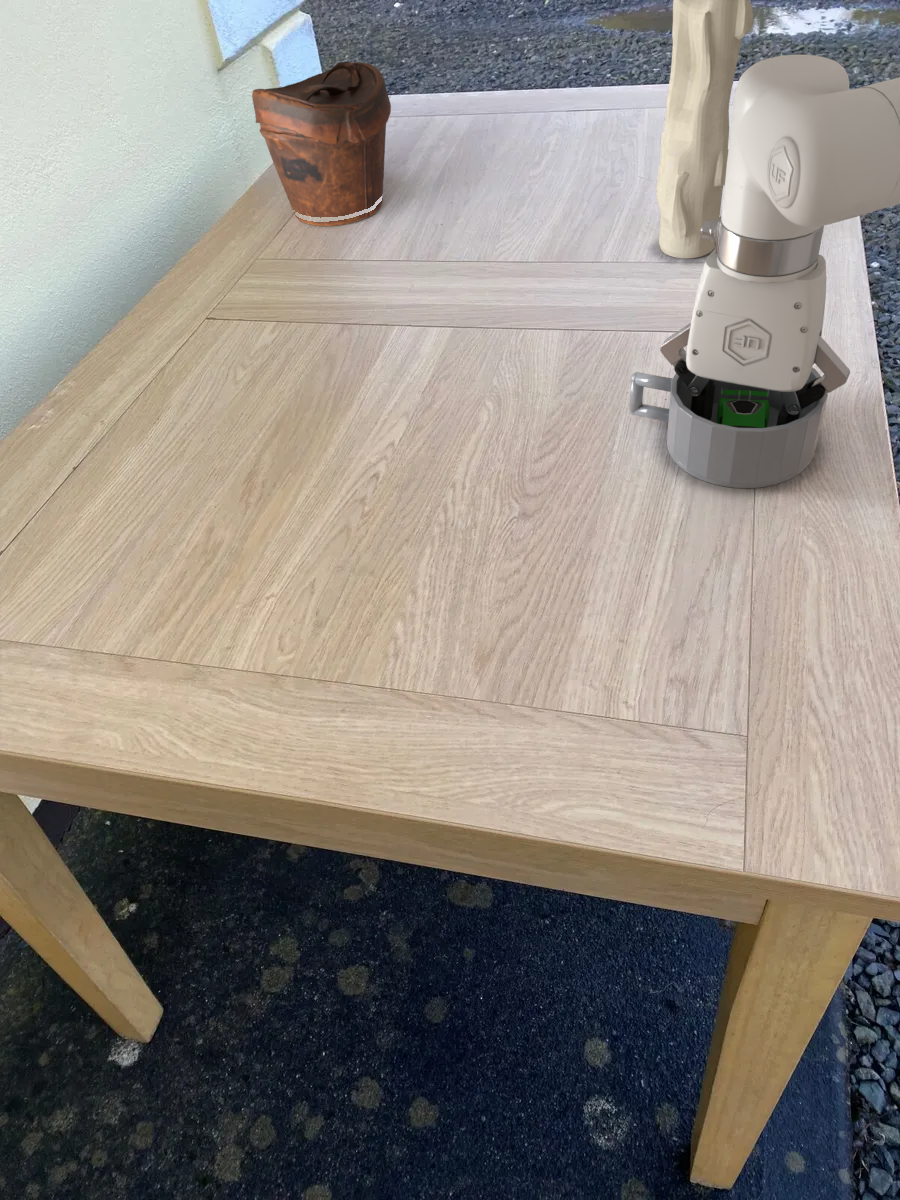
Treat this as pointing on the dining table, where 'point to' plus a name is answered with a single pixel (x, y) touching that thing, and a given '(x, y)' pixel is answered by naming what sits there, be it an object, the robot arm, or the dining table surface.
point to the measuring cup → (731, 435)
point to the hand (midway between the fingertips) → (740, 433)
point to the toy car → (743, 410)
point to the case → (328, 140)
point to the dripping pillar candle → (698, 120)
